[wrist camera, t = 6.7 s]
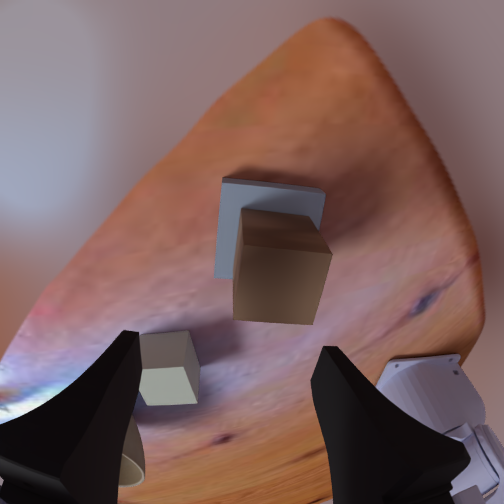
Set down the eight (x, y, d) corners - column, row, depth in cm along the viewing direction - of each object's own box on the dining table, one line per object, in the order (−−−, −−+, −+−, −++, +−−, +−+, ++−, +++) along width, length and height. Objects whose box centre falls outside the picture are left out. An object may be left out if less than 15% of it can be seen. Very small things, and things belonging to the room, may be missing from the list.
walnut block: (309, 216, 19) (332, 254, 14) (296, 275, 20) (312, 325, 16) (241, 208, 18) (243, 245, 14) (232, 269, 20) (233, 319, 16)
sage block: (188, 329, 24) (183, 366, 20) (200, 366, 25) (197, 403, 22) (139, 334, 24) (128, 369, 20) (154, 369, 25) (147, 405, 22)
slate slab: (317, 186, 20) (326, 194, 18) (301, 269, 23) (307, 284, 21) (222, 175, 20) (222, 182, 18) (214, 263, 22) (213, 277, 20)
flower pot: (164, 395, 27) (155, 461, 20) (144, 442, 30) (135, 495, 24) (63, 357, 24) (35, 416, 18) (61, 412, 28) (43, 462, 22)
